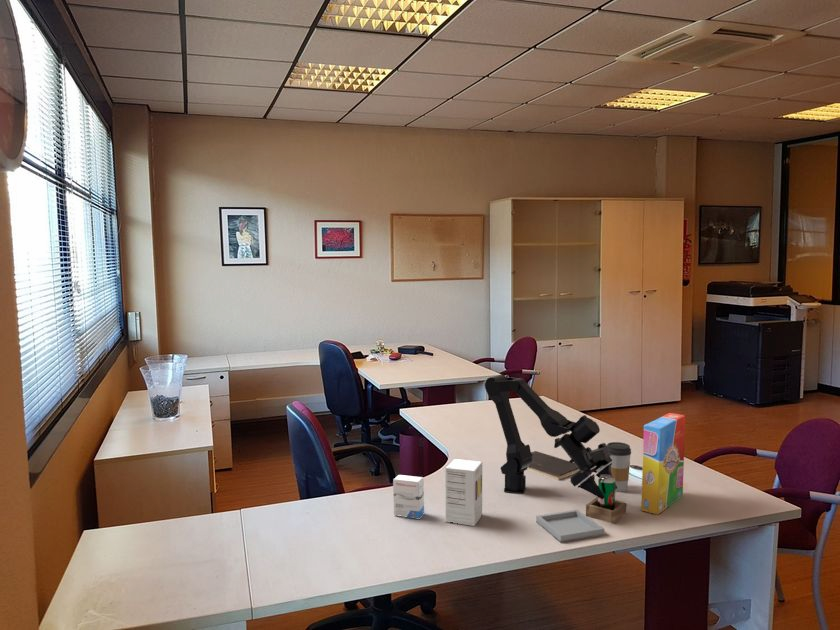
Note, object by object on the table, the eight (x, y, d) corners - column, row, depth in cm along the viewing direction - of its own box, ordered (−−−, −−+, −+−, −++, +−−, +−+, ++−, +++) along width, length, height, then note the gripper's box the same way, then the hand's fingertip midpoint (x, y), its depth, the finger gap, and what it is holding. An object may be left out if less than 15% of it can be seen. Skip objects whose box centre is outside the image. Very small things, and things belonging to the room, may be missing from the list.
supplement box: (474, 526, 185) (474, 471, 184) (444, 522, 189) (444, 467, 187) (483, 514, 194) (483, 460, 193) (454, 510, 198) (454, 457, 196)
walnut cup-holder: (585, 515, 192) (586, 504, 192) (598, 506, 199) (598, 495, 199) (614, 523, 186) (614, 512, 186) (626, 513, 193) (626, 502, 193)
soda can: (595, 512, 195) (595, 474, 194) (611, 511, 195) (611, 473, 194) (601, 518, 190) (601, 480, 189) (617, 518, 190) (618, 479, 189)
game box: (657, 515, 192) (660, 428, 189) (640, 511, 195) (642, 425, 193) (683, 495, 207) (685, 414, 204) (666, 491, 211) (668, 411, 208)
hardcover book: (557, 482, 222) (557, 475, 222) (509, 465, 240) (509, 459, 239) (585, 471, 232) (585, 465, 232) (536, 456, 250) (536, 450, 249)
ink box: (424, 513, 195) (424, 476, 194) (419, 520, 191) (419, 482, 189) (399, 510, 198) (398, 473, 197) (393, 516, 193) (392, 479, 192)
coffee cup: (631, 493, 209) (632, 449, 207) (605, 492, 211) (606, 448, 209) (628, 484, 217) (629, 442, 216) (603, 483, 219) (604, 441, 217)
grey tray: (560, 542, 175) (560, 535, 175) (536, 522, 188) (536, 515, 188) (604, 535, 179) (604, 528, 179) (577, 515, 192) (577, 509, 192)
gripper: (580, 444, 186) (615, 488, 180) (606, 429, 200) (640, 470, 194) (556, 464, 192) (589, 508, 186) (583, 449, 206) (615, 489, 200)
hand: (609, 493), depth 191 cm, fingers open, 9 cm apart
